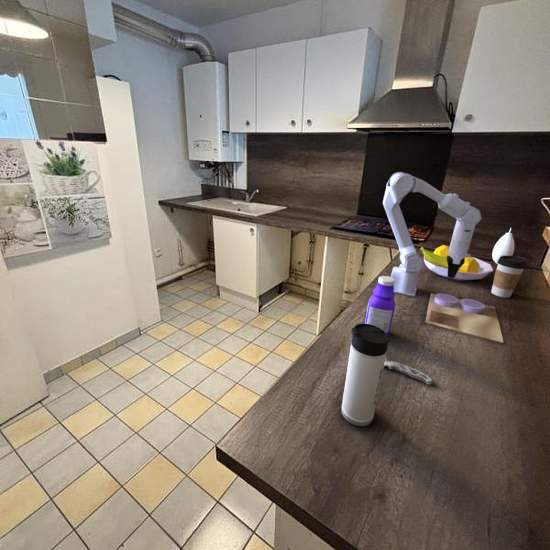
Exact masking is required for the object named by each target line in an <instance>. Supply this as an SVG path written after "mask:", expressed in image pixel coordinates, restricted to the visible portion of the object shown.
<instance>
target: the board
mask: <svg viewBox="0 0 550 550" xmlns="http://www.w3.org/2000/svg"><path fill="white" fill-rule="evenodd" d="M436 294H437V293H431V292H430V297H429V301H428V306H427V311H426V317H425V320H424V321H425V323H426V324H430V325H432V326H433V325H434V326H438V327H441V328H444V329H445V328H446V329H449V330H453V331H457V332H460V333H463V334H468V335H471V336H475V337H478V338H483V339H487V340H491V341H495V342H499V343H502V344H503V343H505V342H504V338H503V334H502V330H501V326H500V322H499V318H498V314H497V309H496V307H495V306H492V305H487V304H484V305H485V309H484V312H483V313H480V314H477V313H471V312H467V311H465V310H463V309H461V308H460V307H459V304H460V301H461V300H462V299H459V298H457V299H458V304H457V306H456V307H445V306H441V305H439V304H437V303H436V302H435V301H434V298H435V295H436Z"/></svg>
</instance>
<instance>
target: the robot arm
mask: <svg viewBox="0 0 550 550" xmlns="http://www.w3.org/2000/svg"><path fill="white" fill-rule="evenodd" d="M385 187H386V188H385V191H384V196H383V200H382V205H383V208H384V211H385V214H386V216H387V219H388V222H389V224H390V227H391V229H392V233H393V235H394V237H395V240H396V243H397V246H398V250H399V261H400V262H401V263H400V264H399V266H393V267H392V270H391V274H390V277H391V278H393V279H394V280H395V281H394V293H397V294H398V293H399V294H403V295H407V296H412V297H415V296H416V293H417V290H418V288H417V285H418V281H419V276H420V272H421V270H422V269H423V267H424V259H423V258H422V257H420V256H419V254H418V252H417V250H416V248H415V246H414V243H413V240H412V238H411V235H410V232H409V229H408V227H407V223H406V221H405V218H404V215H403V211H402V210H401V207H400V204H401V203H402V201H403V200H404V198H405V197H406V196H407V195H408V194H409V193H410V192H412V193H419V194H422V195H423V196H426V197H427V198H429V199H431V200H433V201H434V202H436V203H437V206H438V209H439V210H441V211H443V212H444V213H445V214H447V215H449V216H450V217H452V218H454V219H455V220H456V222H455V225H454V229H453V233H452V236H451V240H450V244H449V246H450V247H449V251H448V252H447V254H448V255H449V256H447V263H448V277H451V278H450V279H452V278H454V277H455V276H456V274H457V272H458V270H459V269H460V267H461V266H462V265H463V264H464V263H465V258H466V257H472V256H471V254H470V253H468V252H469V249H470V244H471V241H472V238H473V235H474V231H475V228H476V225H477V224H479V222H480V221H481V220H482V218H483V217H482V214H481V211H480V209H478V208H476V207H474V206H472V205H471V202H469V201H464V200H462V198H460V197H459V195H458V194H457V193H446V194H444V193H443V192H442V191H440V190H438V189H437V188H435V187H434V186H432V185H431V184H429V183H428V182H426V181H425V180H423V179H420V178H419V177H416V176H413V175H412V174H410V173H405V172H403V171H397V172H394V173H393V174H392V175H391V176H390V178H389V179H388V181H387V183H386V186H385ZM448 277H447V278H448Z"/></svg>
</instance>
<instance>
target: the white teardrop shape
mask: <svg viewBox="0 0 550 550" xmlns="http://www.w3.org/2000/svg"><path fill="white" fill-rule="evenodd" d="M514 253H515V239H514V236H513V233H512V227H510V229H509V231H508V232H505V234H504V235H502V236H501V237H500V238H499V239H498V241H497V242H496V243H495V245H494V246H493V249H492V253H491V255H492V256H491V258H492V260H493V262H494V263H495V264H496V265H498V263H497V262H498V260H499V258H500V256H514Z"/></svg>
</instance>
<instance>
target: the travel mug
mask: <svg viewBox="0 0 550 550" xmlns="http://www.w3.org/2000/svg"><path fill="white" fill-rule="evenodd" d="M350 333H351V334H352V337H351V342H350V347H349V354H348V355H349V356H348V361H347V368H346V376H345V382H344V390H343V395H342V401H341V402H342V403H341V409H340V411H341V414H342V416H343V418H344V420H346V422H348V423H350V424H352V425H354V426H357V427H367V426H369V425H370V424H371V423H372V422H373V420H374V417H375V412H376V407H377V401H378V397H379V392H380V388H381V384H382V383H381V382H382V379H383V373H384V368H385V365H384V364H385V359H386V358H387V354H388V347H389V343H390V337H389V334H388V335H387V334H386V333H384V331H383V330H382V329H381V328H379V327H376V326H374V325H370V324H365V323H357V324H355V325H354V327H352V328H351V331H350Z"/></svg>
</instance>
